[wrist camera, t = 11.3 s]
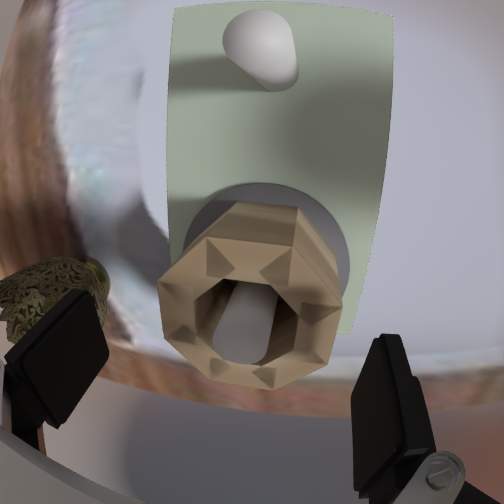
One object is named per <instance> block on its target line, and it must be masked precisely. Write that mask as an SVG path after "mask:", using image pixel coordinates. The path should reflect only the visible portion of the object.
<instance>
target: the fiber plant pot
mask: <svg viewBox="0 0 504 504" xmlns="http://www.w3.org/2000/svg"><path fill="white" fill-rule="evenodd" d="M3 282H4V283H3ZM73 288H79V289H83V290H87V291H89V292H90V294H91V296H92V297H93V299H94V302H95V306H96V309H97V313H98V317H99V320H100V323H101V327H102V328H103V326H104V323H105V319H106V315H107V301H106V299H107V297H108V294H109V291H110V279H109V276H108V274H107V272H106V271H105V269H104V268H103V267H102V266H101V265H100V264H99V263H98V262H97V261H95V260H92V259H88V258H85V259H79V260H76V259H73V258H70V257H65V256H58V257H52V258H48V259H45V260H42V261H40V262H37V263H35V264H33V265H31V266H28V267H26V268H24V269H22V270H20V271H18V272H16V273H14V274H12V275H10V276H8V277H6V278H4V279H3V280H0V307H1V308H4V309H3V311H2V312H1V314H0V321H7V328H6V331H7V339H8V341H9V342H11V343H13V344H16V343H17V342H18V341H19V340H20V339H21V338H22V337H23V336H24V335H25V334H26V333H27V332H28V331H29V330H30V329H31V328H32V327H33V326H34V325H35V324H36V323H37V322H38V321H39V320H40V319H41V318H42V317H43V316H44V315H45V314H46V313H47V312H48V311H49V310H50V309H51V308H52V307H53V306H54V305H55V304H56V303H57V302H58V301H59V300H61V299H62V298H63V297H64V296H65V295H66V294H67V293H68V292H69V291H70V290H71V289H73Z"/></svg>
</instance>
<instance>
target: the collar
mask: <svg viewBox="0 0 504 504" xmlns="http://www.w3.org/2000/svg"><path fill="white" fill-rule="evenodd" d="M227 279H232V280H239V281H246V282H254V283H261V284H269V285H271V286H272V287H273V288H274V289H275V291H276V292H277V293H278V294H279V295H280V296H281V297H282V299H281V300H279V301H278V302H277V304H276V309H275V314H274V319H273V324H272V329H271V334H270V338H269V343H268V348H267V352H266V354H265V356H264V357H263V358H262V359H261V360H260V361H258V362H256V363H253V364H246V365H245V364H237V363H233V362H230V361H228V360H226V359H225V358H223V357H222V356H221V355H220V354H219V353H218V352H217V351H216V349H215V347H214V345H213V335H214V332H215V330H216V328H217V326H218V323H219V321H220V319H221V317H222V315H223V312H224V310H225V308H226V306H227V304H228V301H229V299H230V297H231V295H232V292H233V290H234V288H235V287H234V286H233V285H232V284H231V283H230V282H229V281H228V280H227ZM157 287H158V296H159V304H160V312H161V319H162V327H163V333H164V339H165V340H166V341H168V342H169V343H170V344H171V345H172V346H173V347H174V348H175V349H176V350H177V351H178V352H179V353H181V354H182V355H183V356H184V357H185V358H186V359H187V360H188V361H189V362H191V363H192V364H193V365H194V366H195V367H196V368H197V369H199V370H200V371H201V372H202V373H203V374H204V375H206V376H207V377H208V378H209V379H210V380H215V381H220V382H225V383H230V384H236V385H241V386H247V387H253V388H260V389H266V390H275V389H278V388H280V387H282V386H284V385H287V384H289V383H291V382H293V381H295V380H297V379H299V378H302V377H304V376H306V375H308V374H310V373H312V372H314V371H316V370H318V369H320V368H322V367H324V366H326V365H328V361H329V358H330V354H331V350H332V347H333V343H334V340H335V336H336V332H337V328H338V325H339V321H340V317H341V313H342V309H343V304H342V297H341V290H340V283H339V277H338V271H337V264H336V259H335V253H334V250H333V249H332V248H331V247H330V245H329V244H328V243H327V242H326V240H325V239H324V238H323V237H322V235H321V234H320V233H319V232H318V230H317V229H316V228H315V227H314V225H313V224H312V223H311V222H310V221H309V219H308V218H307V217H306V216H305V215H304V213H303V212H302V211H301V210H300V209H299V207H295V206H286V205H277V204H267V203H257V202H246V201H237V202H236V203H235V204H234V205H233V206H232V207H230V208H229V209H228V210H227V211H226V212H225V213H224V214H222V215H221V216H220V217H219V218H218V219H217V220H216V221H214V222H213V223H212V224H211V225H210V226H209V227H208V228H207V229H205V230H204V231H203V232H202V233H201V234H200V235H199V236H198V237H197V238H196V239H195V240H194V241H193V242H192V243H191V244H190V245H189V246H188V247H187V248H186V250H185V251H184V252H183V253H182V254H181V255H180V256H179V257H178V258H177V259H176V260H175V261H174V263H173V264H172V265H171V266H170V267H169V268H168V269H167V270H166V271H165V272H164V273H163V275H162V276H161V277H160V278H159V279H158V280H157Z"/></svg>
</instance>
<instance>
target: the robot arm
mask: <svg viewBox="0 0 504 504" xmlns="http://www.w3.org/2000/svg"><path fill="white" fill-rule="evenodd" d="M4 358H5V360H6V362H7V364H6V365H4V363H3V361H2V360H1V359H0V504H147V503H144V502H141V501H139V500H136V499H133V498H131V497H128V496H125V495H123V494H121V493H118V492H116V491H114V490H111V489H109V488H107V487H104V486H102V485H100V484H98V483H96V482H94V481H92V480H90V479H88V478H86V477H84V476H82V475H80V474H78V473H76V472H74V471H72V470H70V469H68V468H66V467H64V466H63V465H61V464H59V463H57V462H56V461H54V460H52V459H50V458H49V457H47V455H46V448H45V442H44V434H43V425H42V424H43V422H44V421H46V423H47V424H49V425H50V426H52V427H54V428H56V429H58V428H59V427H60V425H61V424H63V423H65V422H66V421H67V419H68V418H69V416H70V414H71V413H72V412H73V410H74V409H75V407H76V406H77V404H78V402H79V401H80V399H81V398H82V396H83V395H84V393H85V392H86V391H87V389H88V388H89V386H90V385H91V383H92V382H93V380H94V379H95V377H96V376H97V374H98V373H99V372H100V370H101V369H102V367H103V366H104V364H105V363H106V362H107V360H108V358H109V349H108V346H107V343H106V340H105V336H104V333H103V330H102V327H101V323H100V320H99V317H98V313H97V309H96V306H95V302H94V299H93V297H92V296H91V294H90V292H89V291H87V290H83V289H79V288H73V289H71V290H70V291H69V292H68V293H67V294H66V295H65V296H64V297H63V298H62V299H61V300H59V301H58V302H57V303H56V304H55V305H54V306H53V307H52V308H51V309H50V310H49V311H48V312H47V313H46V314H45V315H44V316H43V317H42V318H41V319H40V320H39V321H38V322H37V323H36V324H35V325H34V326H33V327H32V328H31V329H30V330H29V331H28V332H27V333H26V334H25V335H24V336H23V337H22V338H21V339H20V340H19V341H18V342H17V343H16V344H15V345H14V346H13V347H12V348H11V349H10V350H9V351H8V353H7V354H6V355H5V356H4ZM351 417H352V436H353V469H354V470H353V471H354V472H353V475H354V476H353V479H354V490H355V491H359V499H364V498H369V504H500V503H499V502H497V501H496V500H494V499H493V498H491V497H489V496H488V495H486V494H484V493H483V492H482V491H480V490H479V489H477V488H475V487H474V486H472V485H471V484H469V483H468V482H466V481H465V476H466V470H465V467H464V464H463V462H462V461H461V459H460V458H458V457H457V456H456V455H455V454H453V453H450V452H447V451H439V452H437V451H436V447H435V441H434V437H433V432H432V428H431V424H430V419H429V415H428V411H427V407H426V403H425V400H424V396H423V392H422V389H421V385H420V382H419V380H418V378H417V377H416V376H412V373H411V369H410V366H409V363H408V359H407V356H406V353H405V349H404V346H403V343H402V340H401V337H400V335H398V334H381V335H380V337H379V338H375V339H374V340H373V342H372V345H371V347H370V350H369V353H368V355H367V358H366V360H365V363H364V365H363V368H362V370H361V373H360V375H359V378H358V380H357V382H356V385H355V387H354V389H353V392H352V395H351Z"/></svg>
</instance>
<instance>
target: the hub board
mask: <svg viewBox="0 0 504 504" xmlns="http://www.w3.org/2000/svg"><path fill="white" fill-rule="evenodd" d="M392 88H393V16H391V15H386V14H381V13H377V12H372V11H367V10H361V9H355V8H349V7H342V6H335V5H326V4H316V3H304V2H303V3H302V2H284V1H247V2H227V3H213V4H203V5H195V6H187V7H181V8H175V9H174V17H173V27H172V39H171V50H170V65H169V81H168V104H167V105H168V106H167V198H168V199H167V201H168V202H167V203H168V225H169V226H168V227H169V245H170V261H171V265H172V264H173V263H174V261H175V260H176V259H177V258H178V257H179V256H180V255H181V254H182V253H183V252H184V251H185V250H186V248H187V247H188V246H189V245H190V244H191V243H192V242H193V241H194V240H195V239H196V238H197V237H198V236H199V235H200V234H201V233H202V232H203V231H204V230H205V229H207V228H208V227H209V226H210V225H211V224H212V223H213V222H214V221H216V220H217V219H218V218H219V217H220V216H221V215H222V214H224V213H225V212H226V211H227V210H228V209H229V208H230V207H232V206H233V205H234V204H235V203H236V202H237V201H246V202H257V203H267V204H277V205H286V206H295V207H299V209H300V210H301V211H302V212H303V213H304V215H305V216H306V217H307V218H308V219H309V221H310V222H311V223H312V224H313V225H314V227H315V228H316V229H317V230H318V232H319V233H320V234H321V235H322V237H323V238H324V239H325V240H326V242H327V243H328V244H329V245H330V247H331V248H332V249H333V250H334V253H335V259H336V264H337V271H338V277H339V283H340V290H341V297H342V304H343V309H342V313H341V317H340V321H339V325H338V328H337V332H336V334H340V335H350V333H351V330H352V327H353V323H354V319H355V316H356V312H357V308H358V305H359V301H360V297H361V293H362V289H363V285H364V281H365V276H366V272H367V268H368V263H369V259H370V254H371V249H372V244H373V240H374V234H375V229H376V224H377V218H378V213H379V207H380V201H381V195H382V188H383V181H384V174H385V167H386V158H387V149H388V140H389V131H390V119H391V106H392ZM227 280H228V281H229V282H230V283H231V284H232V285H233V286H234V287H235V288H234V290H233V292H232V295H231V297H230V299H229V301H228V304H227V306H226V308H225V310H224V312H223V315H222V317H221V319H220V321H219V323H218V326H217V328H216V330H215V332H214V335H213V345H214V347H215V349H216V351H217V352H218V353H219V354H220V355H221V356H222V357H223V358H225V359H226V360H228V361H230V362H233V363H237V364H245V365H246V364H253V363H256V362H258V361H260V360H261V359H262V358H263V357H264V356H265V354H266V352H267V348H268V343H269V338H270V334H271V329H272V324H273V319H274V314H275V309H276V304H277V302H278V301H279V300H281V299H282V297H281V296H280V295H279V294H278V293H277V292H276V291H275V289H274V288H273V287H272V286H271V285H269V284H261V283H254V282H246V281H239V280H232V279H227Z"/></svg>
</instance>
